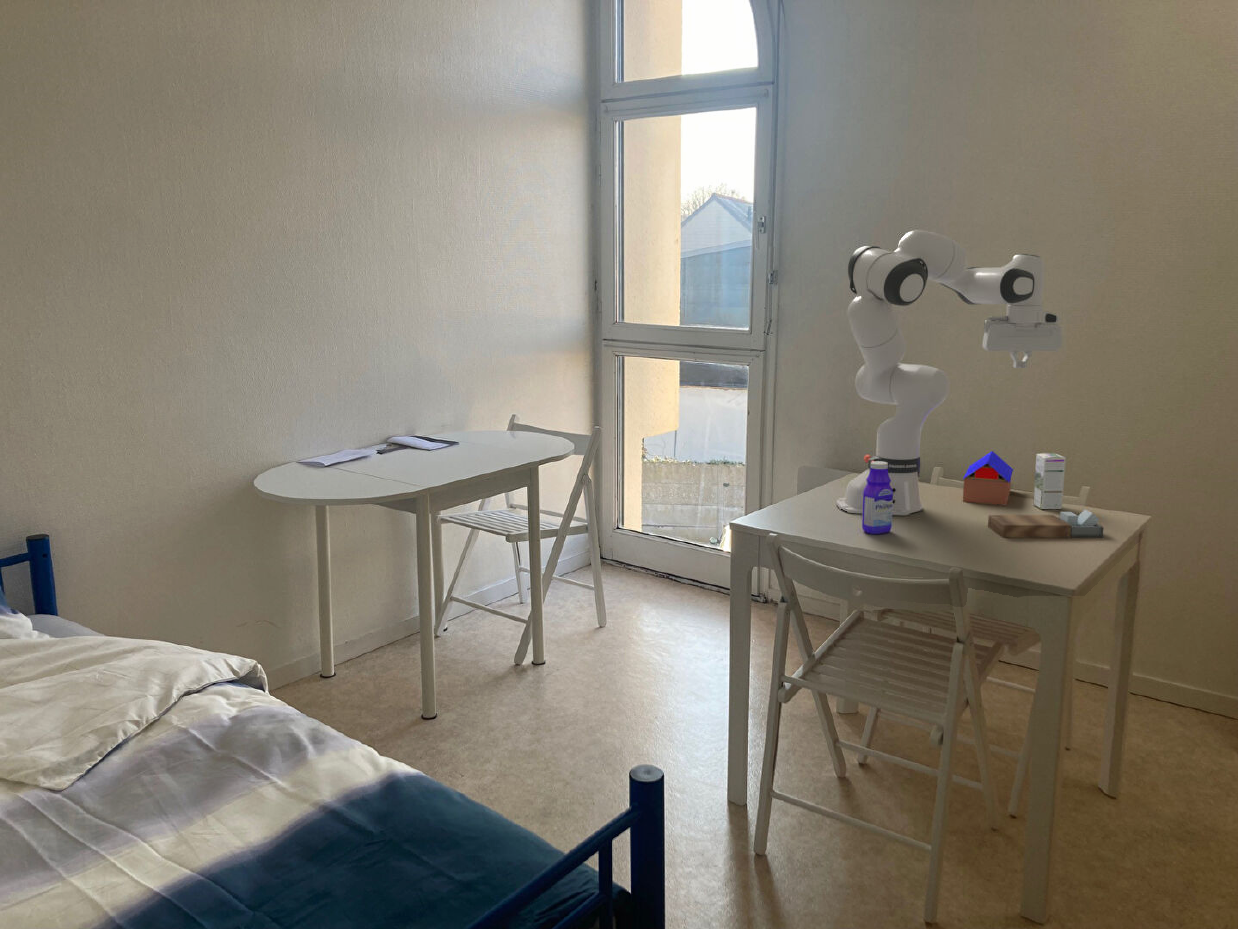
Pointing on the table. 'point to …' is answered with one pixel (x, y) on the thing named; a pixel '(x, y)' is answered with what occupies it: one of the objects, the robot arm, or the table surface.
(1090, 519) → the tile
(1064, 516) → the tile
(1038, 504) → the syrup box
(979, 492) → the house
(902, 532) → the table surface
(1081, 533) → the tray
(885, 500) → the bottle
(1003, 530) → the board
